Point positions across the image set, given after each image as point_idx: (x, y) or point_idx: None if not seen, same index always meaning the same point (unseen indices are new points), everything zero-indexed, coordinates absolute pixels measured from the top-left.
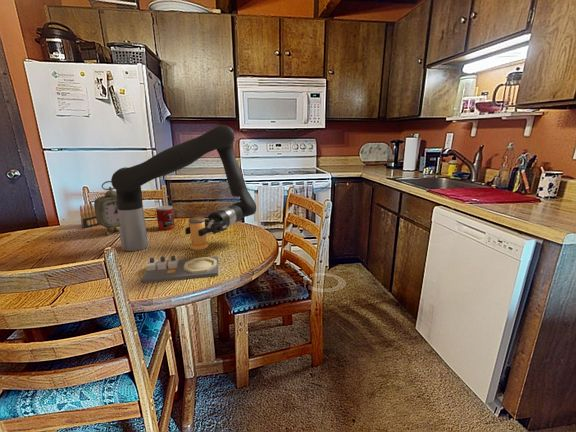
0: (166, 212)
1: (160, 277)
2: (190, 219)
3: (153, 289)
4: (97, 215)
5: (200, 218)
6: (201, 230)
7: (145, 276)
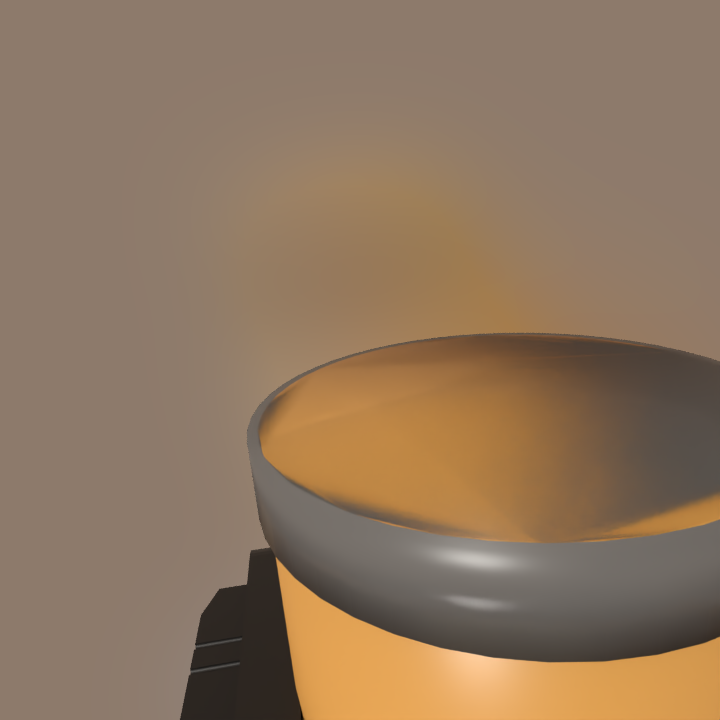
0: None
1: None
2: (595, 349)
3: None
4: None
5: (459, 449)
6: (250, 580)
7: None
